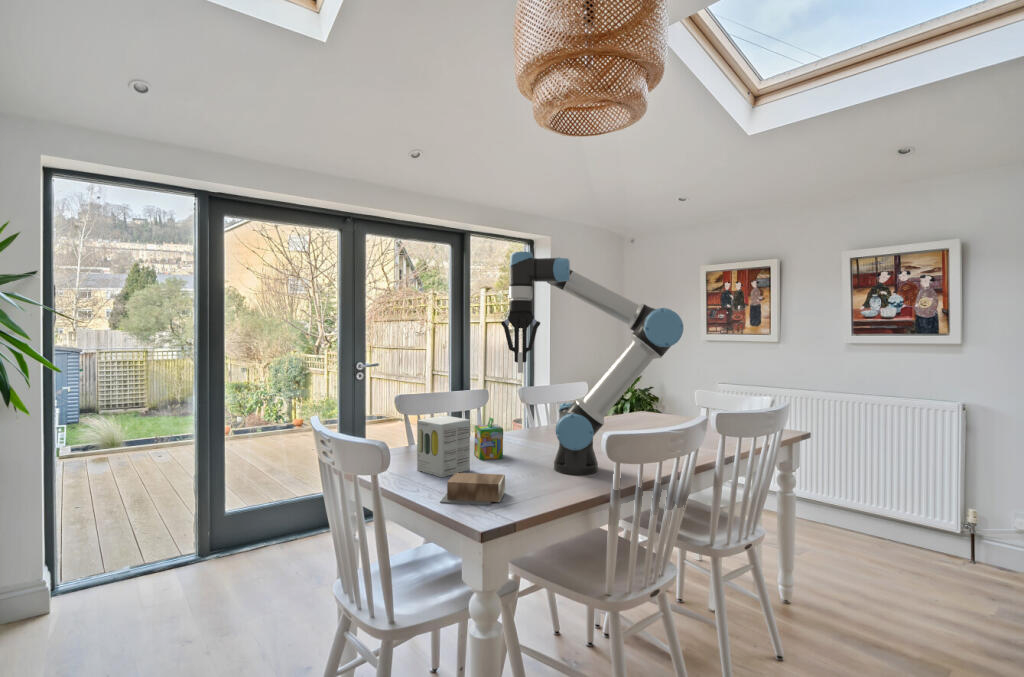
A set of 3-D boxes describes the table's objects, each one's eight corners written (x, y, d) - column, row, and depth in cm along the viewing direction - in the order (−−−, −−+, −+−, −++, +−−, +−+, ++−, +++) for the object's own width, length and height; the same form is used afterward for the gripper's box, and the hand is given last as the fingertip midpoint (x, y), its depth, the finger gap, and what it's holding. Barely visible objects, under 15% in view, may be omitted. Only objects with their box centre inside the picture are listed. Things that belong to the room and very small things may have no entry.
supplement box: (415, 470, 186) (415, 419, 185) (444, 463, 196) (444, 415, 195) (442, 477, 177) (442, 424, 177) (470, 469, 187) (470, 419, 187)
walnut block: (505, 474, 161) (455, 472, 163) (499, 484, 151) (447, 481, 153) (504, 491, 161) (455, 489, 163) (499, 502, 151) (447, 499, 153)
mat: (498, 488, 166) (498, 487, 166) (489, 505, 150) (489, 504, 150) (453, 486, 167) (453, 485, 167) (440, 503, 152) (440, 501, 152)
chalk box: (473, 455, 209) (474, 416, 208) (496, 453, 211) (497, 415, 211) (479, 460, 200) (479, 420, 199) (503, 459, 203) (503, 419, 202)
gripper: (541, 300, 179) (541, 371, 180) (502, 300, 181) (502, 371, 182) (540, 299, 172) (539, 373, 172) (499, 299, 174) (498, 373, 174)
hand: (520, 372), depth 177 cm, fingers closed
